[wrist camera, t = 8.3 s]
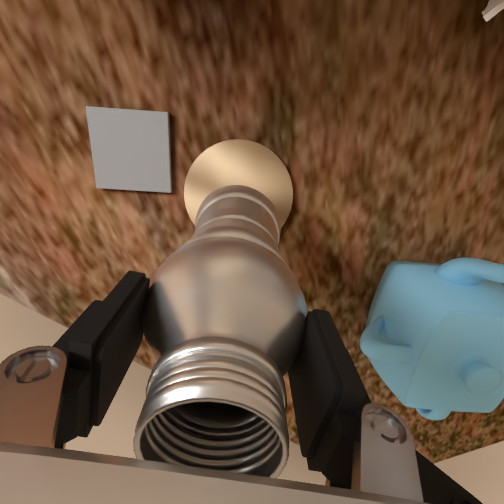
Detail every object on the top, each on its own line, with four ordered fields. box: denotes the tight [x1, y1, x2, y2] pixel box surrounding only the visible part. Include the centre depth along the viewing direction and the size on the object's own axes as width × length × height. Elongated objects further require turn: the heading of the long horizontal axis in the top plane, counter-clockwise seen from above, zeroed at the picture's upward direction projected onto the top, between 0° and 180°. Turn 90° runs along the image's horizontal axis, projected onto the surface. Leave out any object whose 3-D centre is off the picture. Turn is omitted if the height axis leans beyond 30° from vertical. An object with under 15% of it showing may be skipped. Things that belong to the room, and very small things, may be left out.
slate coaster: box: [86, 106, 172, 193], centre depth 31 cm, size 8×8×1 cm
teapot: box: [360, 257, 504, 420], centre depth 33 cm, size 18×16×14 cm
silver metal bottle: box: [133, 185, 307, 478], centre depth 16 cm, size 6×7×20 cm
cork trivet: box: [184, 139, 293, 228], centre depth 33 cm, size 12×12×1 cm
